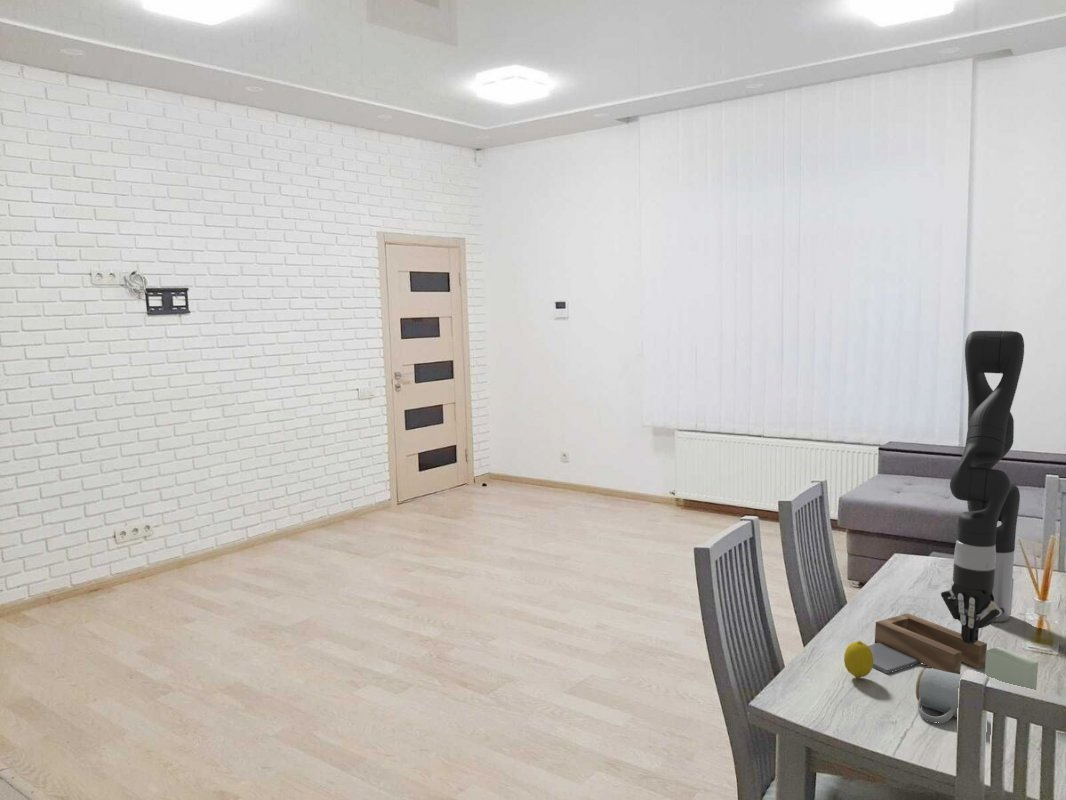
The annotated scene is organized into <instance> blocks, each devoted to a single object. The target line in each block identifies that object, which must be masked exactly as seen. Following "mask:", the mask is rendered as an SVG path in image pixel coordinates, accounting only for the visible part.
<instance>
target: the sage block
mask: <svg viewBox="0 0 1066 800" xmlns="http://www.w3.org/2000/svg"><path fill="white" fill-rule="evenodd" d="M1038 670H1039V661H1037V660H1035V659H1033V658H1029V657H1028V656H1027V657H1026V656H1024V655H1022V654H1019V653H1016V652H1014V651H1011V650H1008V649H1006V648H1003V647H1001V646H996V647H993V648H990V649H987V651H986V662H985V666H984V675H985V674H986V675H987V676H988V677H991V678H995V679H997V680H999V681H1002V682H1005V683H1009V684H1013V685H1017V686H1021V687H1026V688H1030V689H1034V690H1036V691H1037V683H1038V673H1039V671H1038Z"/></svg>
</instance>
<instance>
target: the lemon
mask: <svg viewBox="0 0 1066 800" xmlns="http://www.w3.org/2000/svg"><path fill="white" fill-rule="evenodd" d="M868 646H869V645H867V644H866V643H864V642H862V640H858V641H857V640H856V641H854V642H851V643H850V644H849V645H847V647H846V648H845V651H844V656H843V662H844V666H845V669H846V670H847V672H848V673H849V674H851V676H854V677H855V678H856V679H861V678H863V677H866V676H868V675H869V674H870V673H871V671H872V669H873V668H874V667H873V655H872V652H871V649H870V648H869V647H868Z"/></svg>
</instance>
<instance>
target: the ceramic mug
mask: <svg viewBox="0 0 1066 800" xmlns="http://www.w3.org/2000/svg"><path fill="white" fill-rule="evenodd" d="M962 675H963V674H961V673H960V674H955V673H950V672H946V671H942V670H937V669H932V668H930V667H928V668H927V667H926V668H923V669H922V670H921V671H920V672H919V674H918V675H917V679H916V684H915V696H916V700H917V710H918V713H919V716H920V717H921V718H922V719H923V720H925V719H926V720H925V721H927V720H928V721H927V722H929V721H932V722H937V723H936V724H943V723H942V722H944V723H947V722H948V721H950V719H951V718H953V717H954V716H956V717H955V718H957V708H958V688H959V681H960V678H961V676H962ZM922 706H924V707H926V708H929V709H931V710H933V711H934V710H935V711H938V712H941V713H943V714H942V715H938V716H932V715H930V714H927V713H925V711H923V710H922ZM932 722H931V723H932ZM938 722H939V723H938Z"/></svg>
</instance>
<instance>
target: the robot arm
mask: <svg viewBox="0 0 1066 800" xmlns="http://www.w3.org/2000/svg"><path fill="white" fill-rule="evenodd" d="M1024 357H1025V341H1024V337H1023V335H1022V333H1020V332H1018V331H1012V330H975V331H974V330H973V331H971V332H970V333H968V335H967V336H966V340H965V344H964V361H965V372H966V373H965V375H966V382H967V383H966V384H967V395H968V396H967V397H968V399H967V400H968V405H967V432H966V440H965V444H964V445H965V446H964V450H963V452H962V455H961V458H960V459H959V462H958V464H957V465H956V467H955V469H954V471H953V473H952V474H951V477H950V480H949V481H950V482H949V488H950V492H951V494H952V496H953V497H955V499H957V500H959V501H965V502H967V510H968V511H964V512H962V513H960V514H959V516H958V517H957V518H958V519H957V533H956V542H955V545H954V556H953V567H952V568H953V571H952V582H953V584H952V585H951V587H950V588H951V589H949V590H945V591H942V592H941V593H940V596H941V598H942V600H943V601H944V603H945V605H946V608H947V609H948V611H949V612H950V615H951V617H952V618H953V619H954V620H957V621H959V623H960V625H961V631H960V632H961V637H962V639H963V642H965V643H967V644H970V645H971V644H974V643H975V642H977V641H978V640H979V632H980V630H979V629H983V628H986V627H989V626H990V625H992V623H994V622H996V623H998V622H1000V623H1002V622H1007V621H1009V620H1010V615H1011V616H1012V607H1013V595H1014V577H1013V575H1014V574H1013V573H1014V563H1015V562H1014V561H1015V550H1016V531H1017V523H1018V515H1019V509H1020V503H1021V502H1020V500H1021V495H1020V489H1019V487H1018V486H1017V485H1015V484H1011V481H1010V477H1009V476H1008V474H1007V473H1006V472H1004V471H1003V470H1000V469H994V468H993V467H994V466H996V465H997V464H998V463H999V462H1000V461H1001V460H1002V459H1003V458H1004V457H1005V456H1006V455H1007V454H1008V453H1009V451H1010V450H1011V449H1012V447H1013V444H1014V437H1015V436H1014V435H1015V434H1014V433H1015V427H1014V425H1015V423H1014V422H1015V420H1014V416H1013V414H1012V413H1011V409H1012V406H1013V403H1014V400H1015V396H1016V392H1017V389H1018V383H1019V380H1020V377H1021V372H1022V368H1023V364H1024ZM986 374H1002V375H1001V379H1000V381H999V383H998V384H997V385H996V387H995V388H994V389H992V387H991V386H990V384H989V382H988V379H987V377H986ZM999 522H1001V523H1000V524H999V526H998V523H999Z"/></svg>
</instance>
